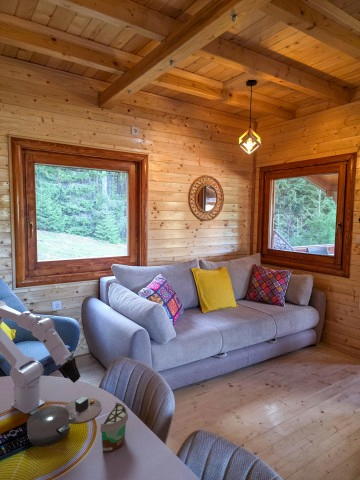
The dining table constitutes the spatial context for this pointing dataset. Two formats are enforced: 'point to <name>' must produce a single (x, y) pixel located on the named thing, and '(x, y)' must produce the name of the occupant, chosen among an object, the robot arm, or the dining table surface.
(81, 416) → the cooker lid
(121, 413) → the food container
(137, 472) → the dining table surface
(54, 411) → the cooker pot
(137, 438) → the dining table surface
